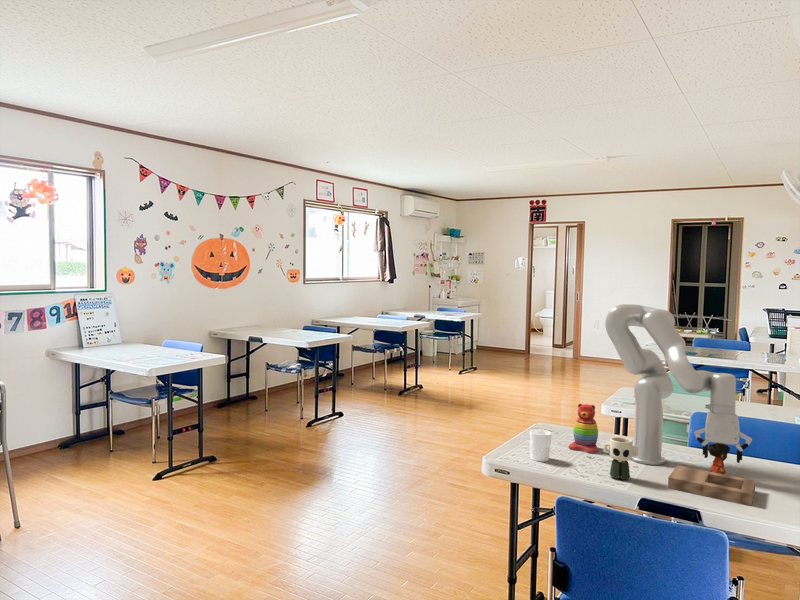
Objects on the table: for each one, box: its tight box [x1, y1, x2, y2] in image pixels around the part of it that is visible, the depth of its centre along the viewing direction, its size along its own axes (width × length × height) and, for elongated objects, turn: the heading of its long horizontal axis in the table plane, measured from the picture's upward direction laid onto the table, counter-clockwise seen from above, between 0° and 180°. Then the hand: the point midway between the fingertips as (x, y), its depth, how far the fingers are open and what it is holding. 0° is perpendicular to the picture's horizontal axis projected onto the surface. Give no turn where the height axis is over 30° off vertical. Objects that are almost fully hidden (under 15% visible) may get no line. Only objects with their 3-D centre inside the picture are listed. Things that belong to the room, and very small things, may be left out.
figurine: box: [708, 443, 731, 475], centre depth 195 cm, size 6×6×12 cm
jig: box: [667, 465, 756, 507], centre depth 183 cm, size 23×16×4 cm
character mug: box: [603, 436, 638, 480], centre depth 192 cm, size 11×7×13 cm, turn 72°
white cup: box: [529, 429, 552, 462], centre depth 210 cm, size 8×8×10 cm
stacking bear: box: [568, 403, 599, 455], centre depth 225 cm, size 11×10×18 cm
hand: (722, 459), depth 194 cm, fingers open, 9 cm apart
